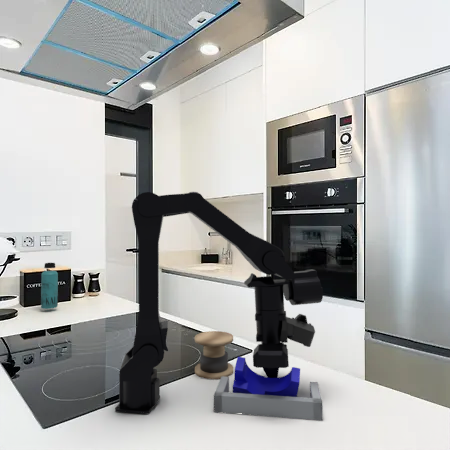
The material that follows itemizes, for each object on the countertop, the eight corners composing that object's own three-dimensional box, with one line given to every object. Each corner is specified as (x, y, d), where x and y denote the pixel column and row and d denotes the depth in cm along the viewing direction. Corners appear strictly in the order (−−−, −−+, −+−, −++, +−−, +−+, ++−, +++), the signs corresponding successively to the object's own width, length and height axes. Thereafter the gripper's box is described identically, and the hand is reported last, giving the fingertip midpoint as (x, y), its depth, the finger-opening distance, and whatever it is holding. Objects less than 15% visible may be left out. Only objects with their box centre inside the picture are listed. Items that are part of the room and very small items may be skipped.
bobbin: (190, 377, 79) (190, 341, 79) (199, 363, 88) (199, 330, 88) (230, 380, 78) (230, 343, 78) (235, 365, 86) (235, 331, 87)
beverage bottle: (44, 309, 151) (44, 262, 151) (60, 308, 151) (60, 261, 152) (37, 312, 144) (38, 263, 145) (54, 312, 145) (55, 263, 145)
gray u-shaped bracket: (213, 412, 64) (213, 395, 64) (221, 391, 72) (221, 376, 72) (322, 420, 61) (322, 402, 61) (317, 397, 69) (317, 382, 69)
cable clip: (232, 396, 69) (233, 376, 65) (237, 376, 72) (237, 356, 69) (295, 409, 66) (299, 389, 63) (296, 388, 70) (300, 368, 67)
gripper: (315, 320, 61) (320, 410, 61) (307, 296, 79) (310, 365, 79) (250, 320, 62) (255, 409, 63) (257, 297, 81) (260, 365, 81)
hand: (273, 384), depth 71 cm, fingers closed
